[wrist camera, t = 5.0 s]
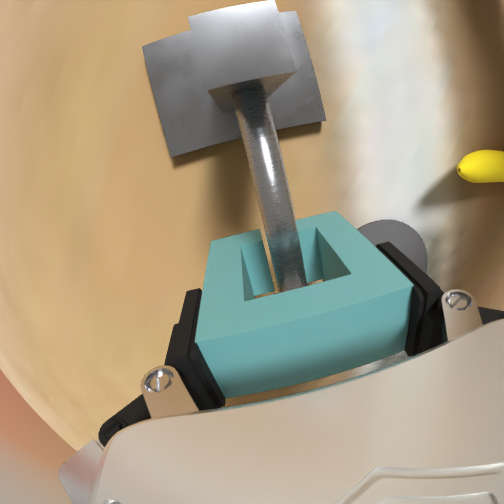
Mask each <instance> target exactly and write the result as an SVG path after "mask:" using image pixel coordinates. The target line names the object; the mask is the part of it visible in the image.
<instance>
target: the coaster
mask: <svg viewBox="0 0 504 504" xmlns="http://www.w3.org/2000/svg"><path fill="white" fill-rule="evenodd" d="M357 230H358V231H359V232H360V233H361V234H362V235H363V236H364V237H365V238H366V239H367V240H369V241H370V242H371V243H372V244H373V245H374V246H375V247H376V245H377V244H380V243H384V242H387V241H389V242H390V243H392V244H393V245H394V246H395V247H396V248H397V249H399V250H400V251H401V252H402V253H403V254H404V255H406V256H407V257H408V258H409V259H410V260H411V261H412V262H413V263H414V264H416V265H417V266H418V267H419V268H420V269H421V270H422V271H423V272H424V273H425V274H426V269H427V252H426V248H425V245H424V242H423V240H422V238H421V237H420V235H419V234H418V233H417V232H416V231H415V230H414V229H413V228H411V227H410V226H408V225H407V224H405V223H403V222H399V221H396V220H380V221H375V222H371V223H368V224H366V225H364V226H362V227H360V228H358V229H357ZM324 281H325V280H324V279H323V282H324Z"/></svg>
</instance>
